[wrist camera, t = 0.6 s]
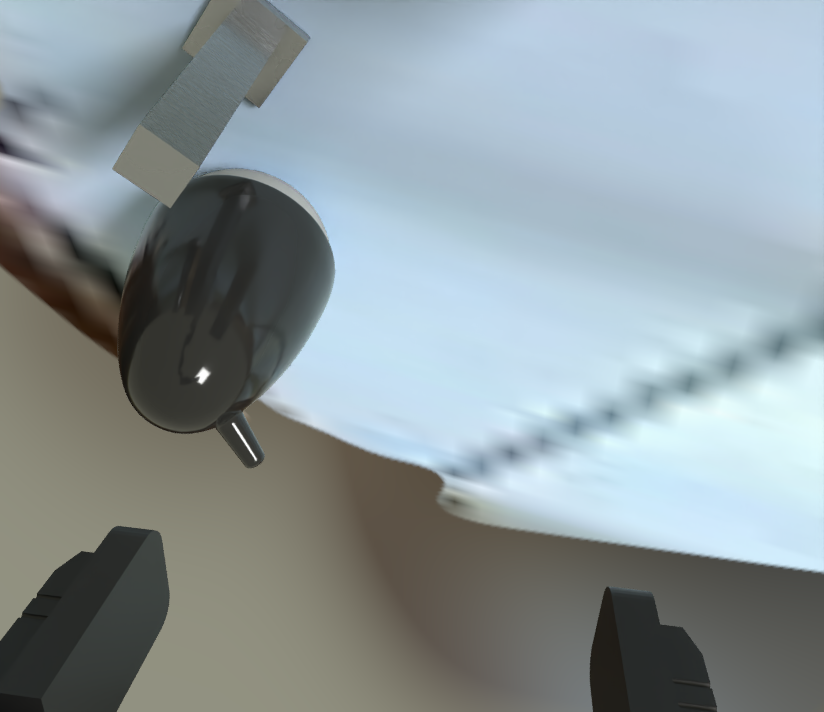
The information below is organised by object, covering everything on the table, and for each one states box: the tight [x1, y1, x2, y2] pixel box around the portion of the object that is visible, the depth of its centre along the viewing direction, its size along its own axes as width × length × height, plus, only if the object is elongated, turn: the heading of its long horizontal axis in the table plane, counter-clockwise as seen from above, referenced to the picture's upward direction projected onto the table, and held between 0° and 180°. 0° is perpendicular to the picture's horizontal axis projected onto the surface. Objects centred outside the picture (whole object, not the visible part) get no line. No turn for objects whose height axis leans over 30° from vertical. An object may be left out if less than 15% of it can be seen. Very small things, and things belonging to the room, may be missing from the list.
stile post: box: [112, 0, 310, 208], centre depth 31 cm, size 4×4×12 cm
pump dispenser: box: [118, 169, 335, 468], centre depth 37 cm, size 10×10×15 cm
